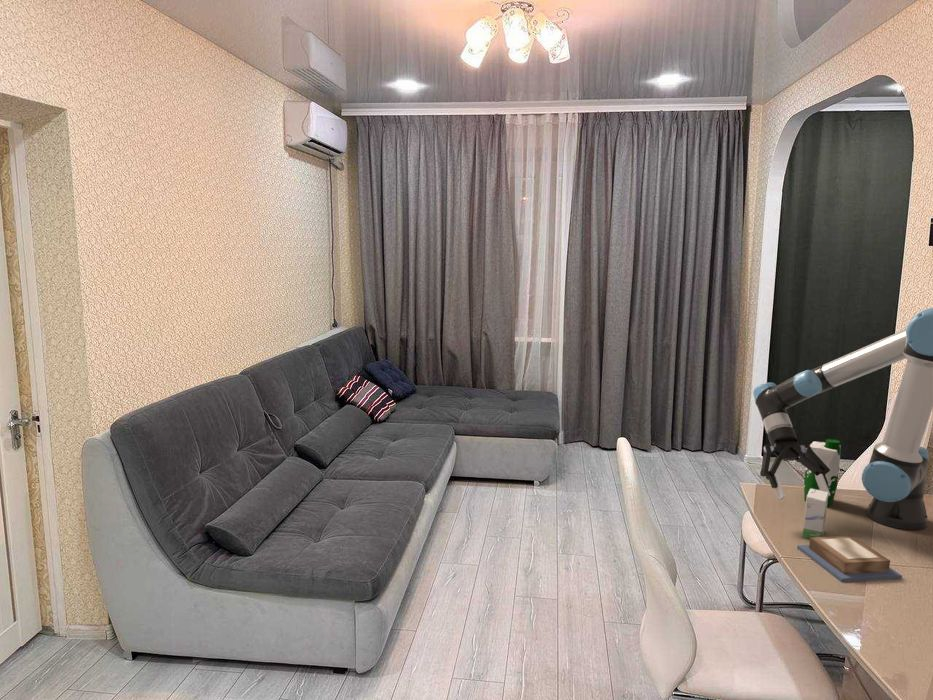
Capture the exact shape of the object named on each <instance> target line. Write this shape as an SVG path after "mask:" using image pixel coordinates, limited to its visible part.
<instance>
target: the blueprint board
mask: <svg viewBox="0 0 933 700" xmlns="http://www.w3.org/2000/svg"><path fill="white" fill-rule="evenodd" d="M796 548H797V549H798V550H799V551H800V552H802V554H804V555H805V556H807V557H808V558H809V559H811V560H812V561H813V562H815V564H817V565H819V566H820V568H823V569H824V570H825V569H826V570H825V571H826V572H828V573H829V572H830V573H829V574H831V576H833V577H834V578H836V579H837V580H838V581H840V582H841V583H842V582H843V581H845V582H858V581H859V582H860V581H862V580H864V581H877V580H879V581H881V580H882V579H884V580H897V579H896V578H902V579H903V574H900V573H899V572H898V571H896V570H894V568H891V566H890V567H889V572H878V573H858V574H843V573H842V572H840V571H839V570H838V569H836V568H835V567H833V566H832V565H831V564H829V563H828V562H827V561H825V560H824V559H823V558H821V557H820V556H819V555H817V554H816V553H815V552H813V551H812V550H810V549H809V544H801V545H800V544H797V546H796ZM875 579H876V580H875ZM882 581H883V580H882ZM843 583H844V582H843Z"/></svg>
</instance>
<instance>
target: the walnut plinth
mask: <svg viewBox="0 0 933 700" xmlns="http://www.w3.org/2000/svg"><path fill="white" fill-rule="evenodd" d="M808 545H809V549H810V550H812V551H813V552H815V553H816V554H817V555H819V556H820V557H821V558H823V559H824V560H825V561H827V562H828V563H829V564H831V565H832V566H833V567H835V568H836V569H838V570H839V571H840V572H842V573H843V574H858V573H878V572H889V567H890V568H891V566H890V565H891V560H890V559H889V558H887V557H885V555H884V556H883V555H882V554H881V553H879V552H878V551H876V550H874V549H873V548H872V547H870V546H869V545H867V544H866V543H863V542H862V541H860V540H859V539H858V538H856V537H854V536H853V535H846V536H845V535H843V536H842V535H841V536H823V537H816V538H810V539H809V544H808Z"/></svg>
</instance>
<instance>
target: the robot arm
mask: <svg viewBox="0 0 933 700" xmlns="http://www.w3.org/2000/svg"><path fill="white" fill-rule="evenodd" d="M905 359H906V360H907V361H906V364H905V368H904V370H903V375H902V376H901V377H902V378H901V381H900V384H899V387H898V390H897V394H896V397H895V399H894V404H893V407H892V410H891V412H890V416H889V419H888V423H887V426H886V429H885V432H884V436H883V440H882V441H881V442H879V443H875V445H874V446H873V449H872V451H871V452H872V453H871V455H870V460H869V462H868V464H867V465H865V467H864V469H863V471H862V473H861V483H862V485H863V488H864V489H865V491H866V492H867V493H868V494H869V495H870V496H871V497H872V498H871V499H872V500H871V502H870V503H869V504H868V506H867V511H866V514H867V517H868V518H870V519H871V520H873V521H874V522H876V523H879V524H881V525H883V526H884V525H885V526H887V527H891V528H895V529H902V530H908V531H909V530H910V531H913V530H914V531H917V530H924V529H926V528H927V527H928V523H929V517H928V515H927V510H926V505H925V501H924V495H925V489H926V481H927V473H928V468H929V467H928V466H929V465H928V464H929V461H930V457H929V455H930V453H929V450H928V449H927V448H926V447H924V446H921V444H922V442H923V438H924V435H925V432H926V429H927V426H928V424H929V420H930V418H931V415H932V414H931V413H932V412H933V411H932V410H933V307H931V308H926V309H924V310H921V311H920V312H918V313H916V314H915V315H914V316H913V317H912V318H911V320H910V321H909V322H908V324H907V327H906V328H905V329H902V330H900V331H897V332H896V333H894V334H891V335H889V336H886V337H884V338H881V339H880V340H877V341H875V342H873V343H870V344H867V345H866V346H863V347H861V348H859V349H857V350H855V351H852V352H849V353H847V354H844V355H843V356H841V357H838V358H836V359H833V360H831V361H828V362H827V363H824V364H822V365H819V366H817V367H815V368H813V369H806V370H804V371H801V372H798V373H796V374H795V375H793V376H792V377H790V378H788V379H786V380H784V381H783V382H781V383H779V384H776V383H774V382H764V383H762V384H759V385H757V386H756V387H755V388H754V389H753V391H752V393H753V397H754V402H755V403H754V404H755V405H756V407H757V409H758V411H759V415H760V417H761V420H762V423H763V426H764V430H765V432H766V434H767V438H768V440H769V443H767V444H765V445H764V446H763V448H762V453H763V458H762V463H761V468H760V476H761V477H763V478H764V477H765V479H766V480H769V484H770V486H771V488H772V489H774V491H775V494H776V497H777V500H778V501H782V500H784V498H785V497H786V494H785V491H784V488H783V484H782V482H781V479H780V477H779V474H776V472H777V470H779V469H778V468H779V466H780V465H781V463H782V461H783V462H787V461H793V462H794V461H796V462H797V463H800V464H801V465H802V466H804V467H805V469H806V468H807V469H809V470H810V471H811V472H813V473H814V474H815V475H816V476H817V477H816V478H815V479H816V481H817V484H818V486H819V489H820V490H821V491H825V492H828V497H829V496H830V492H829V490H828V487H827V485H828V481H827V479H826V476H825V475H826V474H827V473H828V472H829V471H830V469H829V468H828V467H827V466H826V465H825V464H824V462H823V461H822V460H821V459H820V458H819V457H818V456H817V455H816V454H815V453H814V452H813V450H812V449H811V447H810V445H811V444H809V443H808V442H807V443H805V444H804V445H803V444H799V442H798V438H797V434H796V432H795V429H794V428H793V423H792V421H791V419H790V417H789V413H788V411H787V409H789V408H792V407H793V406H795V405H797V404H799V403H802V402H803V401H806V400H808V399H810V398H812V397H814V396H816V395H819V394H822V393H824V392H827V391H829V390H831V389H833V388H836V387H838V386H840V385H843V384H846V383H847V382H851V381H853V380H855V379H858V378H860V377H863V376H865V375H868V374H871V373H873V372H877V371H878V370H880V369H883V368H885V367H888V366H890V365H892V364H895V363H897V362H900V361H902V360H905ZM772 453H774V454H775V455H776V457H775V458H774V461H773V463H772V465H771V467H770V462H771V458H772Z"/></svg>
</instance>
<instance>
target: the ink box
mask: <svg viewBox="0 0 933 700" xmlns="http://www.w3.org/2000/svg"><path fill="white" fill-rule="evenodd" d="M827 502H828V492H825V491H821V490H816V489H810V490H809V492H808V495H807V498H806V501H805V509H804V518H803V526H802V527H803V530H802V537H803V538H804V537H805V539H809V540H810V538H816V537H824V532H825V527H826V519H827V511H828V510H827V509H828V506H827Z"/></svg>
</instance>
